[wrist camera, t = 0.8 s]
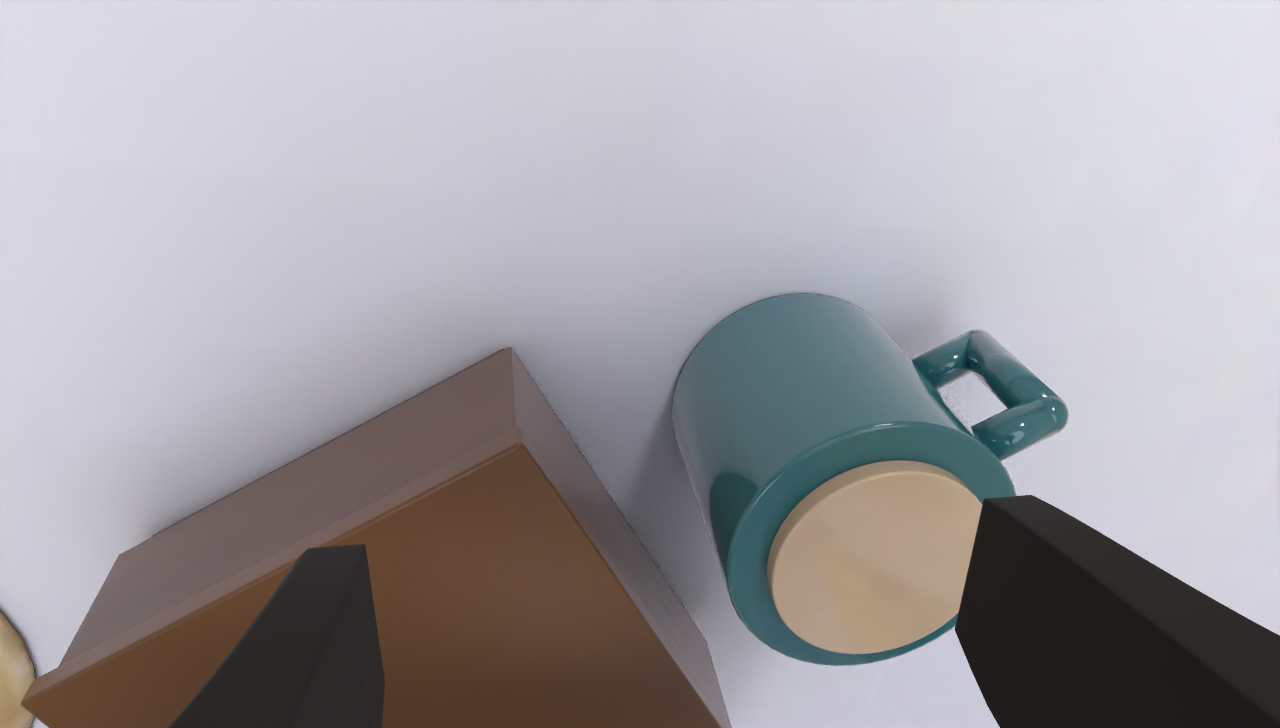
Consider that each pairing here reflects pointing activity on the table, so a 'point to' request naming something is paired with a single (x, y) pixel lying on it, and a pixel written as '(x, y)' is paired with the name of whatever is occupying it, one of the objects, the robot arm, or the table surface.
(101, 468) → the table surface
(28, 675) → the hand bell
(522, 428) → the brown wooden box
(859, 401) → the cup
